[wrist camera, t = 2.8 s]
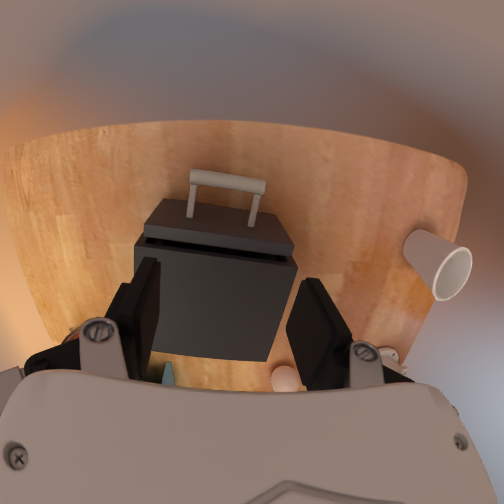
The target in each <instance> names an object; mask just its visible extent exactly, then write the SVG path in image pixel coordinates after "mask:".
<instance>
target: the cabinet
mask: <svg viewBox="0 0 504 504" xmlns="http://www.w3.org/2000/svg"><path fill="white" fill-rule="evenodd" d="M143 235H144V232H143V233H142V235H141V236H140V238H139V239H138V241H137V242H136V243H135V245H134V275H135V273H136V271H137V269H138V267H139V265H140V263H141V261H142V259H143V257H144V256H147V257H154V258H157V261H158V262H161V280H160V314H159V320H158V324H157V328H156V332H155V337H154V341H153V345H152V349H151V351H157V352H163V353H170V354H178V355H185V356H194V357H203V358H213V359H225V360H238V361H256V362H266V361H267V358H268V356H269V353H270V350H271V347H272V344H273V342H274V339H275V336H276V333H277V330H278V327H279V324H280V321H281V319H282V316H283V313H284V310H285V307H286V304H287V301H288V298H289V295H290V291H291V288H292V285H293V282H294V279H295V276H296V273H297V270H298V266H297V265H296V263H295V261H294V259H293V257H292V256H291V257H288V256H281V255H275V257H276V260H277V261H273V260H265V259H258V258H250V257H243V256H236V255H228V254H221V253H214V252H206V251H199V250H192V249H185V248H177V247H170V246H163V245H156V244H154V243H155V241H156V239H157V238H151V237H144V236H143Z"/></svg>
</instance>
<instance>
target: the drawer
mask: <svg viewBox="0 0 504 504" xmlns="http://www.w3.org/2000/svg"><path fill="white" fill-rule="evenodd" d="M189 183H191V186H190V193H189V200H188V201H181V200H173V199H165V198H163V200H162V201H161V202H160V203H159V205H158V206H157V207H156V209H155V210H154V211H153V213H152V214H151V215H150V217H149V218H148V219H147V221H146V222H145V223H144V235H143V236H144V237H151V238H157V239H156V241H155V243H154V244H156V245H163V246H170V247H177V248H185V249H192V250H199V251H206V252H214V253H221V254H228V255H236V256H243V257H250V258H258V259H265V260H273V261H277V260H276V257H275V255H281V256H288V257H291V256H292V252H293V249H294V244H293V242H292V241H291V239H290V237H289V236H288V234H287V232H286V231H285V229H284V228H283V226H282V224H281V223H280V221H279V219H278V218H277V216H276V215H272V214H266V213H260V212H257V211H258V206H259V202H260V197H261V195H263V194H264V192H265V188H266V181H265V180H261V179H255V178H250V177H244V176H238V175H233V174H226V173H220V172H214V171H207V170H200V169H193V168H192V169H191V171H190V176H189ZM198 184H199V185H206V186H212V187H219V188H225V189H231V190H238V191H244V192H249V193H254V196H253V201H252V205H251V210H250V211H248V210H242V209H235V208H229V207H222V206H216V205H209V204H202V203H195V198H196V191H197V185H198ZM260 194H261V195H260Z"/></svg>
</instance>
